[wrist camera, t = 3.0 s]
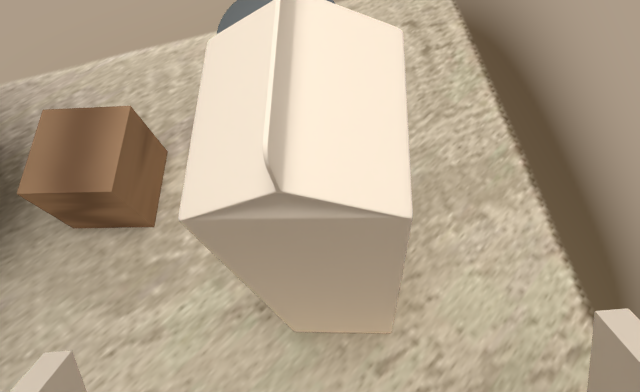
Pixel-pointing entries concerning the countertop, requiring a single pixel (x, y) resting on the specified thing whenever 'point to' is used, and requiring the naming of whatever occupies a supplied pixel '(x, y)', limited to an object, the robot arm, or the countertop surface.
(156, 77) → the countertop surface
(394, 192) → the milk
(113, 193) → the walnut block
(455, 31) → the countertop surface
